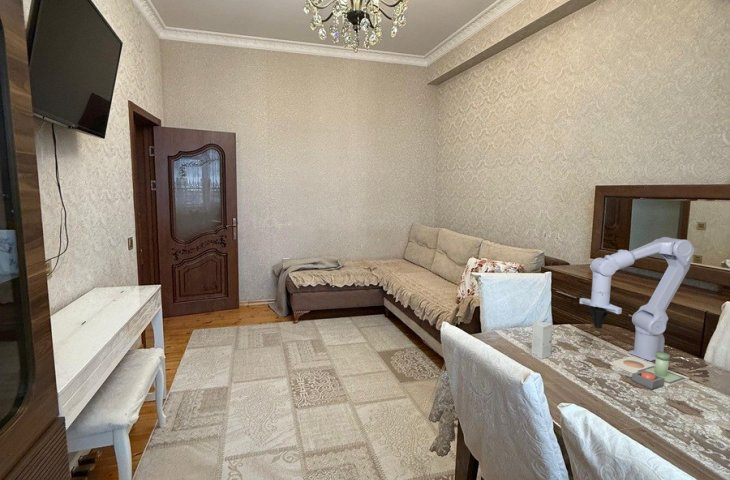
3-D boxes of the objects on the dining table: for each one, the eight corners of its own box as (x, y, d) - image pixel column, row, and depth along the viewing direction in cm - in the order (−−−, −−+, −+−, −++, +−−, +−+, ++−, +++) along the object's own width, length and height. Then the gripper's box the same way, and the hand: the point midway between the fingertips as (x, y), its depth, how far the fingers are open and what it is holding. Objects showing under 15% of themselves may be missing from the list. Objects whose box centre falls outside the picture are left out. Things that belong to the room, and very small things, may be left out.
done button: (645, 377, 123) (645, 370, 122) (657, 382, 119) (658, 375, 119) (638, 380, 121) (638, 372, 121) (650, 385, 118) (651, 377, 118)
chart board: (630, 357, 139) (630, 355, 139) (689, 379, 123) (689, 377, 123) (609, 363, 134) (609, 361, 134) (667, 387, 118) (667, 385, 118)
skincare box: (541, 359, 138) (543, 327, 136) (530, 355, 141) (532, 323, 140) (551, 355, 141) (553, 323, 140) (540, 351, 145) (542, 320, 143)
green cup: (655, 370, 128) (657, 350, 127) (669, 374, 125) (671, 353, 124) (652, 374, 125) (654, 353, 124) (666, 378, 123) (668, 357, 122)
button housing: (643, 377, 124) (643, 370, 124) (663, 385, 119) (664, 378, 119) (631, 381, 122) (632, 373, 122) (652, 389, 116) (653, 382, 116)
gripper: (575, 287, 144) (572, 322, 145) (613, 297, 131) (610, 335, 132) (587, 286, 147) (585, 320, 148) (626, 295, 134) (623, 332, 135)
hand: (598, 327), depth 141 cm, fingers closed
